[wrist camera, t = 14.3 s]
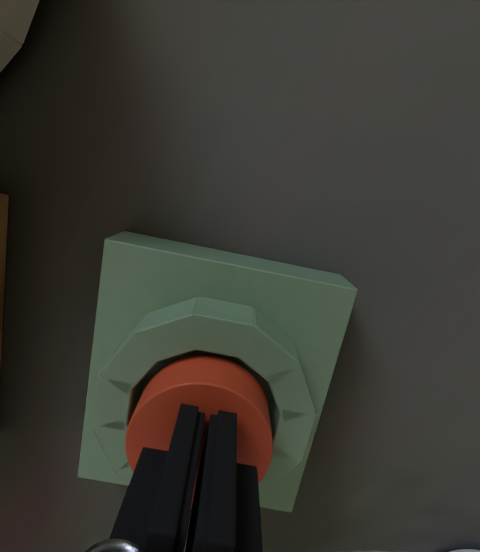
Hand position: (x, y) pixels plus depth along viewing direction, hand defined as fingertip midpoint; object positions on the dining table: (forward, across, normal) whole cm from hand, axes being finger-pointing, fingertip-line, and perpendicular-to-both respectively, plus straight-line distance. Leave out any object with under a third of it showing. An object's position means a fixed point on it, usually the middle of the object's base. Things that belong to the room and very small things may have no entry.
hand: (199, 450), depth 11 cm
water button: (+2, 0, 0) cm, 2 cm away
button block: (+6, 0, 0) cm, 6 cm away
